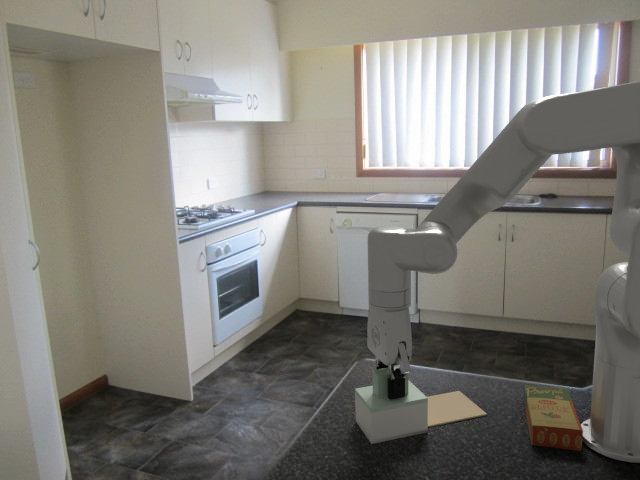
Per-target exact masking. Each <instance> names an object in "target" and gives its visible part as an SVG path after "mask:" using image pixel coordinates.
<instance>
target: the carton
mask: <svg viewBox="0 0 640 480" xmlns="http://www.w3.org/2000/svg"><path fill="white" fill-rule="evenodd" d="M523 387H524V388H523V397H522V398H523V399H522V400H523V401H522V402H523V406H524V407H523V408H524V411H525V418H526V424H527V430H528V435H529V440H530V445H531V446H539V447H547V448H554V449H555V448H556V449H561V450H563V449H564V450H570V451H571V450H572V451H579V452H581V451H582V447H583V441H582V437H583V429H582V427H581V424H582V423H581V421H580V419H579V417H578V413H577V411H576V408H575V405H574V402H573V400H572V397H571V394H570V391H569V389H568V388H567V387H554V386H540V385H530V384H525V385H524V386H523Z"/></svg>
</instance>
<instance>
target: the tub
mask: <svg viewBox="0 0 640 480" xmlns="http://www.w3.org/2000/svg"><path fill="white" fill-rule="evenodd" d="M354 400H355V401H354V402H355V403H354V404H355V405H354V406H355V422H356V424H357V426H358V427H359V429H360V430H361V431H362V432H363V434H364V435H365V437H366V438H367V439H368V441H369V443H370V444H371V445H373V444H379V443H383V442H388V441H393V440H397V439H403V438H407V437H412V436H417V435H421V434H427V433H428V430H429V429H428V428H429V427H428V402H426V403H421V404H415V405H410V406H405V407H400V408H394V409H389V410H384V411H379V412H374V413H371V412H370V411H369V410H368V408H367V407H366V406H365V405H364V403H363V402H362V401H361V399H360V398H359V397H358V396H357V394H356V393H355V392H354Z"/></svg>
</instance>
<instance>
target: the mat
mask: <svg viewBox="0 0 640 480" xmlns="http://www.w3.org/2000/svg"><path fill="white" fill-rule="evenodd" d="M426 397H427V398H428V428H432V427H436V426H440V425H446V424H451V423H456V422H460V421H465V420H470V419H474V418H479V417H484V416H487V415H488V414H487V412H485V410H483V409H482V408H480V406H478V405H477V404H476V403H474V401H472V400H471V399H470V398H468V397H467V396H466V395H465V394H464V393H463V392H461V391H460V390H456V391H452V392H451V391H450V392H446V393H440V394H435V395H429V396H426Z"/></svg>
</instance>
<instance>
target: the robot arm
mask: <svg viewBox="0 0 640 480" xmlns="http://www.w3.org/2000/svg"><path fill="white" fill-rule="evenodd" d="M607 148H611V149H612V151H613V154H614V156H615V160H616V183H615V190H614V196H613V203H612V212H611V217H610V225H609V237H610V240H611V242H612V244H613V245H614V246H615V247H616V248H617V249H618V250H619V251H621V252H622V253H623V254H625V255H627V257H628V261H623V262H618V263H614V264H612V265H610V266H608V267H607V268H605V270H603V271H602V273H601V274H600V275H599V277H598V279H597V280H596V284H595V287H594V310H595V346H594V347H595V348H594V357H593V358H594V361H593V370H592V372H593V375H592V386H591V387H592V388H591V399H590V400H591V401H590V402H591V404H590V413H589V414H590V415H589V416H590V417H589V418H588V419H586V420H583V422H582V423H580V424H581V427H582V429H583V437H582V443H584V444H585V445H586V446H587V447H589V448H590V449H591V450H593V451H594V452H596V453H598V454H600V455H602V456H604V457H607V458H610V459H613V460H617V461H621V462H628V463H637V464H640V80H638V81H632V82H628V83H627V82H626V83H621V84H617V85H612V86H611V85H610V86H606V87H599V88H594V89H589V90H582V91H578V92H577V91H576V92H570V93H562V94H554V95H548V96H543V97H541V98H537V99H534V100H532V101H529V102H528V103H527V104H524V106H523V107H522V108H520V110H519V111H517V113H516V114H515V115H514V116H513V117H512V118H511V119H510V121H509V122H508V123H507V124H506V125H505V126H504V128H503V129H502V130H501V131H500V132H499V134H497V136H496V137H495V138H494V139H493V141H491V143H490V144H489V145H488V146H487V147H486V149H485V150H484V151H483V152H482V153H481V155H480V156H479V157H478V158H477V159H476V160H475V162H473V164H472V165H471V166H470V167H469V168H468V169H467V171H465V172H464V174H462V176H461V177H460V178H459V179H458V181H457V182H456V183H455V184H454V185H453V186H452V187H451V189H449V190H448V191H447V193H446V194H445V195H444V196H443V197H442V198H441V200H440V201H439V202H437V204H436V205H435V206H434V207H433V209H431V211H429V213H428V214H427V215H426V216H425V218H424V219H423V220H422V221H421V222H420V223H419V225H418V226H417V227H416V230H415V231H414V232H413V231H411V232H410V231H409V230H408V229H407V228H404V227H401V226H391V225H388V226H379V227H375V228H372V229H371V230H370V231H369V233H368V235H367V274H368V275H367V277H368V279H367V282H368V288H367V289H368V292H367V293H368V294H367V295H368V311H367V326H366V327H367V328H366V331H367V332H366V333H367V334H366V338H367V339H366V344H367V345H366V346H367V349H369V351H370V352H371V354H373V355H374V356H375V358H374V359H375V361H374V362H375V364H376V369H382V368H388V367H389V376H390V378H387V382H388V398H389V399H390V400H392V399H397V398H402V397H405V378H406V374H407V373H408V374H409V373H410V372H411V365H410V361H411V360H412V350H413V346H412V345H413V342H412V340H413V339H412V326H411V325H412V324H411V314H410V307H411V305H412V272H416V273H417V272H418V273H423V274H428V275H429V274H431V275H435V274H436V275H438V274H443V273H446V272H447V271H449V270H450V269H451V268H452V267H453V266H454V265H455V263H457V262H456V261H457V258H458V246H457V244H458V243H459V241H461V239H462V238H463V237H464V236H465V235H466V234H467V233H468V232H469V230H470V229H471V228H472V227H473V226H475V224H476V223H477V222H479V221H480V220H481V219H482V218H483V217H484V216H486V215H488V214H489V213H491V212H492V211H494V210H496V209H499V208H502V207H503V206H505V205H507V204H508V203H509V202H510V201H512V200H513V199H514V198H515V197H516V196H517V194H518V193H519V192H520V190H522V189H523V187H525V185H526V184H527V183H528V182H529V181H530V179H531V178H533V176H534V175H535V174H536V173H537V171H538V170H539V169H540V168H541V167H542V166H544V164H545V163H546V162H547V161H548V160H549V159H550V158H551V156H553V155H565V154H573V153H580V152H587V151H594V150H602V149H607ZM396 359H397V360H396ZM394 366H400V367H399V368H396V369H395V371H394ZM376 369H375V370H376Z"/></svg>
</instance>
